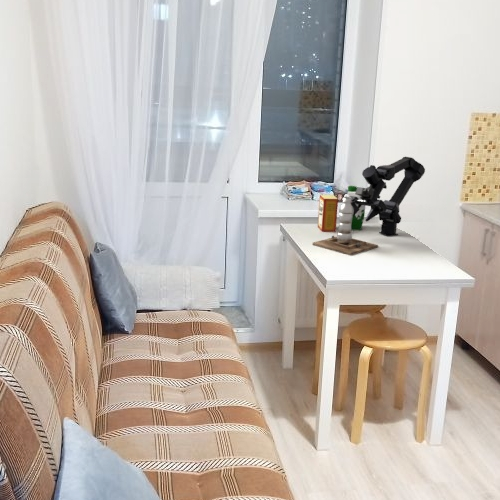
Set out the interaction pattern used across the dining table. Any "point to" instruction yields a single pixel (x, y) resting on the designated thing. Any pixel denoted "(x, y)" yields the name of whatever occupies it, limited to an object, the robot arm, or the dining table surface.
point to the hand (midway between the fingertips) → (358, 219)
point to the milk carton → (359, 216)
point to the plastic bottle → (345, 221)
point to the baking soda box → (327, 213)
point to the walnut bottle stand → (345, 245)
